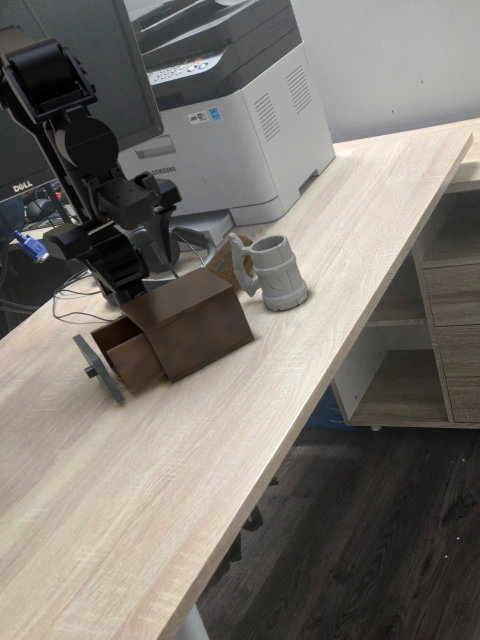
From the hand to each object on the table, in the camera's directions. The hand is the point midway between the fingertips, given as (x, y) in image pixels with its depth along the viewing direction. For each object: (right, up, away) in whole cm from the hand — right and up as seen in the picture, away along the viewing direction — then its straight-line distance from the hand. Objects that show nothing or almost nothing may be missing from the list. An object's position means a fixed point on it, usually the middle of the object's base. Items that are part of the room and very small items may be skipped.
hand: (143, 277), depth 93 cm
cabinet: (+5, -8, +11) cm, 14 cm away
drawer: (-3, -12, +8) cm, 14 cm away
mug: (+16, +2, +17) cm, 24 cm away
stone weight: (+7, +7, +27) cm, 29 cm away
